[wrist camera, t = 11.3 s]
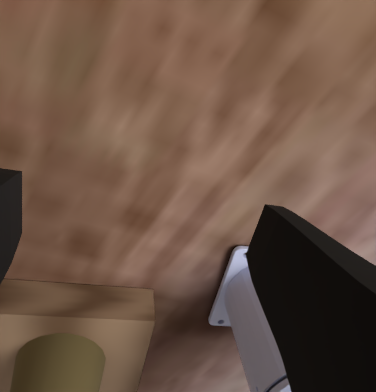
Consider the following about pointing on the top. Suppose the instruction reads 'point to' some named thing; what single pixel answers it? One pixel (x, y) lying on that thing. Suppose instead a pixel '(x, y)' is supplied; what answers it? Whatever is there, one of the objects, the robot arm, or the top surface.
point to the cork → (58, 365)
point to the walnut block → (79, 324)
